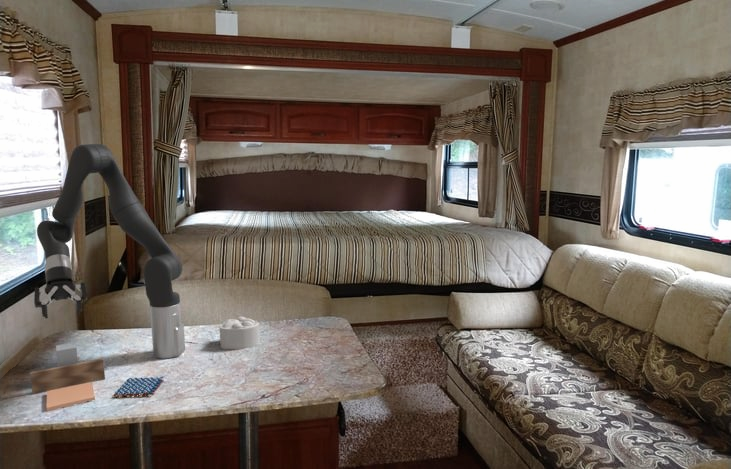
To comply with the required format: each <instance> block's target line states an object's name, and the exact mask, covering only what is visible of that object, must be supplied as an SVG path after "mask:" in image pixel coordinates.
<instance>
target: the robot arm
mask: <svg viewBox="0 0 731 469" xmlns="http://www.w3.org/2000/svg"><path fill="white" fill-rule="evenodd" d="M97 173H98V174H99V175H100V177H101V178H102V180H103V181H104V183H105V184H106V187H107V189H108V196H109V198H108V201H109V210H110V213H111V215H112V216H113V218H114V220H115V221H116V223H117V224H118V226H119V227H120V229H121V230H122V231H123V232H124V233H125V234H126V235H127V236H129V237H130V238H131V239H133V240H134V241H136V243H138V244H139V245H141V246H142V247H143V249H144V250H146V252H147V253H148V254H149V256H150V258H149V259H148V260H147V261H146V262H145V264H144V267H143V279H144V287H145V295H146V297H147V299H148V301H149V311H150V312H149V313H150V325H151V337H152V352H153V357H154V358H156V359H170V358H176V357H180V356H181V355H182V354H183V353H184V351H185V350H186V339H185V337H186V336H185V325H184V322H182V315H181V314H182V313H181V302H180V301H181V300H180V298H181V297H180V294H179V292H175V291H173V283H172V281H175V280H177V279H178V278H180V277H181V275H182V273H183V265H182V262H181V260H180V257H178V255H177V254H176V252H175V251H174V250H173V249H172V248H171V247H170V245H169V244H168V242H167V241H166V240H165V239H164V237H163V236H162V234H161V233H160V232H159V230H158V228H157V227H156V225H155V224H154V222H153V221H152V219H151V217H150V216H149V214H148V212H147V210H146V209H145V208H144V206H143V204H142V203H141V202H140V200H139V198H138V197H137V196H136V194H135V193H134V191H133V189H132V187H131V186H130V184H129V183H128V181H127V179H126V177H125V175H124V174H123V171H122V170H121V167H120V166H119V163H118V161H117V160H116V157H115V155H114V154H113V152H112V151H111V149H110V148H109V147H108V146H106V145H105V144H102V143H90V144H80V145H77V146H76V147H75V148H74V149H73V151H72V153H71V155H70V158H69V163H68V166H67V170H66V174H65V178H64V183H63V186H62V190H61V193H60V194H59V196H58V199H57V201H56V203H55V204H54V207H53V209H52V211H51V216H52V218H53V219H54V220H56V221H54V220H48V219H46V220H42V221H40V222H39V224H38V226H36V235H37V239H38V241H39V243H40V244H41V247H42V249H43V251H44V257H45V258H44V259H45V260H44V261H45V264H44V273H45V274H44V276H45V282H46V283H45V284H46V285H45V287H44V288H40V287H37V286H36V287H34V296H33V297H34V298H33V299H34V300H33V302H34V308H40V309H41V316H42V317H43V318H44V319H49V315H48V306H49V305H50V304H52V302H54V300H55V301H61V300H68V299H70V300H71V301H73V303H75V305H76V306H75V307H76V314H77V315H80V314H81V313H82V311H83V309H82V303H84V302H85V303H86V302H87V301H88V293H87V289H86V284H85V282H83V281H82V282H81V283H80V284H76V283H74V277H73V276H74V274H73V265H72V262H71V256H70V254H71V253H70V248H69V246H68V244H67V243H68V242H71V240H72V239H73V236H74V227H75V220H76V217H77V216H78V214H79V212H80V210H81V208H82V206H83V202H84V195H83V194H84V193H83V190H82V189H83V184H84V182H85V180H86V179H87V177H88V176H89V175H90V174H97ZM76 290H78V291H79V292H81V296H80V295H78V294H77V293H76ZM44 293H45V294H46V296H45V298H44V299H43V300H42V301H41V299H40V298H41V297H42V296H43V294H44Z"/></svg>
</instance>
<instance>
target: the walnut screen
mask: <svg viewBox="0 0 731 469" xmlns="http://www.w3.org/2000/svg"><path fill="white" fill-rule="evenodd" d="M29 375H30V383H31V384H30V385H31V392H32V393H31V394H32V395H35V394H40V393H45V392H46V393H47V391H50V390H55V389H60V388H64V387H69V386H74V385H79V384H83V383H88V382H92V383H93V382H99V381H103V380H106V374H105V364H104V358H97V359H93V360H88V361H83V362H78V363H76V364H71V365H66V366H61V367H58V366H57V367H52V368H45V369H40V370H35V371H31V372H29Z"/></svg>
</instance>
